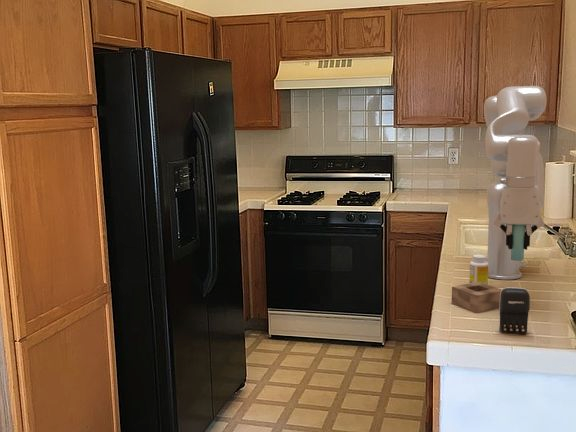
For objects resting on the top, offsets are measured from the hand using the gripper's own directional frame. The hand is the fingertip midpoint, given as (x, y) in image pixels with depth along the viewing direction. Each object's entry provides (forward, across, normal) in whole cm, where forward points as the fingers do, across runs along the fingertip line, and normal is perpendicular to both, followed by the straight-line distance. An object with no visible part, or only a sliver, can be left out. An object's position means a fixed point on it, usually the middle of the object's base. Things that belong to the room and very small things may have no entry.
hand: (517, 247), depth 175 cm
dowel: (+3, 0, 0) cm, 3 cm away
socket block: (+17, -10, 0) cm, 20 cm away
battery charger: (+17, -3, -21) cm, 28 cm away
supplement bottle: (+17, -8, +18) cm, 27 cm away
